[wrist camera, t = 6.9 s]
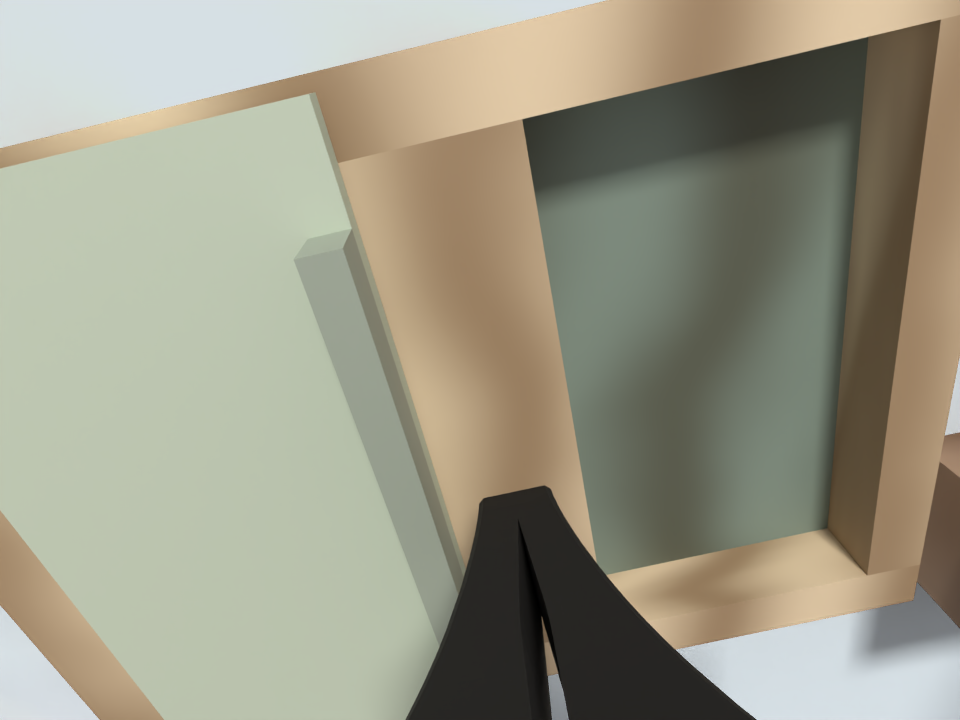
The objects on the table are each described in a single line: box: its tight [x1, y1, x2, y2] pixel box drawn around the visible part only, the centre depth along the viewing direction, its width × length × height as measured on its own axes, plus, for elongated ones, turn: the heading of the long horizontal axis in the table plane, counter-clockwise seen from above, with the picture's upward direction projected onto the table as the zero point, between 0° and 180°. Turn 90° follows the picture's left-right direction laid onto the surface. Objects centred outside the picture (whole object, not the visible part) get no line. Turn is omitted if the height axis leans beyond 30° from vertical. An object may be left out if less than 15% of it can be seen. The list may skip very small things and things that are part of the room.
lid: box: [0, 92, 466, 720], centre depth 13 cm, size 9×16×2 cm, turn 12°
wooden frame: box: [0, 0, 960, 720], centre depth 15 cm, size 24×17×3 cm
